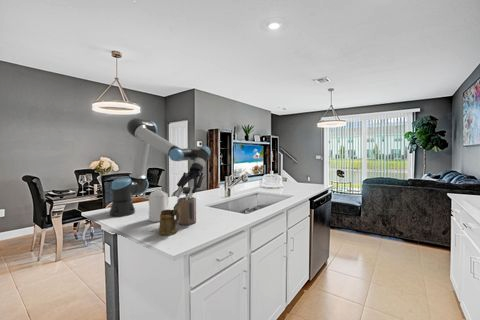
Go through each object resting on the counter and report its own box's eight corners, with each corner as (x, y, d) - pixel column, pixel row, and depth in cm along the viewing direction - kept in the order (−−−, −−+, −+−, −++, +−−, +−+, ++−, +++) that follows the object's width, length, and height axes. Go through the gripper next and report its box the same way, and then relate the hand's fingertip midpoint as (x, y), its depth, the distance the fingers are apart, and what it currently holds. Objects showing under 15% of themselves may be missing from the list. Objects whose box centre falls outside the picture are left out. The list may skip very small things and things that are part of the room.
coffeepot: (136, 225, 130) (135, 192, 129) (160, 213, 155) (159, 185, 154) (154, 227, 128) (153, 193, 127) (175, 214, 152) (175, 186, 152)
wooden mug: (178, 237, 112) (177, 200, 111) (154, 235, 116) (153, 199, 115) (187, 231, 120) (187, 196, 119) (165, 229, 124) (164, 195, 123)
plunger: (180, 218, 135) (179, 187, 135) (189, 216, 139) (188, 186, 138) (184, 221, 131) (184, 188, 130) (194, 219, 134) (193, 187, 134)
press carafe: (175, 222, 136) (174, 198, 135) (191, 219, 142) (190, 196, 141) (184, 227, 126) (184, 201, 126) (201, 223, 133) (200, 199, 132)
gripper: (181, 162, 147) (165, 192, 132) (210, 162, 139) (196, 194, 125) (186, 170, 152) (171, 199, 137) (214, 170, 145) (201, 202, 130)
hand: (183, 197), depth 131 cm, fingers open, 7 cm apart
